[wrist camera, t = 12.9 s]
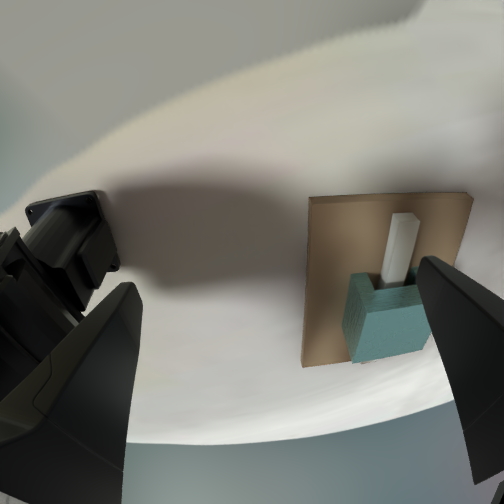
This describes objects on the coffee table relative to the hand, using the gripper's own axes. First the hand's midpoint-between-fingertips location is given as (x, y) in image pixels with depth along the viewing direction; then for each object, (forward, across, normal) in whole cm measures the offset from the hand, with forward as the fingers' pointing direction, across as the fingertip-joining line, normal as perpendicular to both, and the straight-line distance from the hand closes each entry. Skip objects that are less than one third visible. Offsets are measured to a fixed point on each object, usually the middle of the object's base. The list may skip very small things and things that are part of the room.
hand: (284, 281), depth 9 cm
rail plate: (+11, -10, +12) cm, 19 cm away
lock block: (+10, -9, +12) cm, 18 cm away
